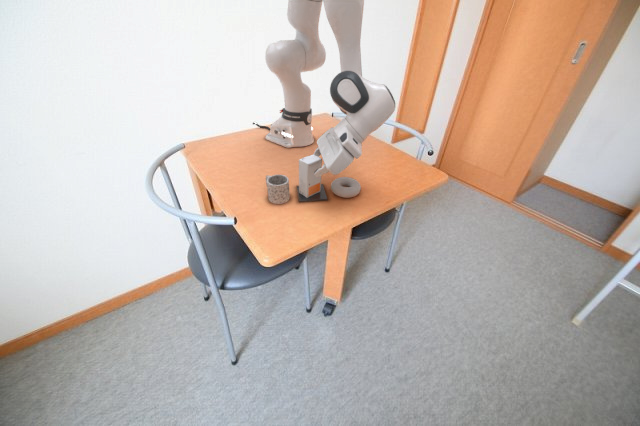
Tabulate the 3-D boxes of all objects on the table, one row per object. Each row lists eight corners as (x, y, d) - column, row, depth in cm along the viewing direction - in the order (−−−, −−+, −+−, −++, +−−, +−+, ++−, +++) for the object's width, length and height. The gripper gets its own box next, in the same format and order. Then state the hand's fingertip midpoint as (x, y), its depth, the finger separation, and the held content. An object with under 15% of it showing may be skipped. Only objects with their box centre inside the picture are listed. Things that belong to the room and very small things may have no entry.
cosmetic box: (307, 198, 85) (307, 164, 78) (298, 193, 88) (297, 159, 81) (321, 191, 89) (322, 158, 82) (312, 186, 91) (313, 153, 84)
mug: (293, 198, 86) (293, 180, 82) (276, 206, 83) (274, 188, 79) (276, 185, 92) (274, 168, 88) (259, 192, 88) (256, 174, 84)
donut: (357, 183, 95) (328, 183, 94) (358, 175, 93) (329, 174, 92) (363, 199, 87) (332, 200, 86) (364, 190, 85) (333, 190, 84)
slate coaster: (322, 185, 93) (322, 184, 93) (327, 200, 86) (327, 198, 86) (296, 187, 92) (296, 185, 91) (299, 202, 85) (299, 200, 84)
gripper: (333, 116, 85) (302, 147, 90) (348, 142, 69) (310, 178, 74) (345, 130, 89) (315, 158, 93) (363, 158, 73) (325, 191, 77)
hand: (313, 167), depth 83 cm, fingers open, 8 cm apart
